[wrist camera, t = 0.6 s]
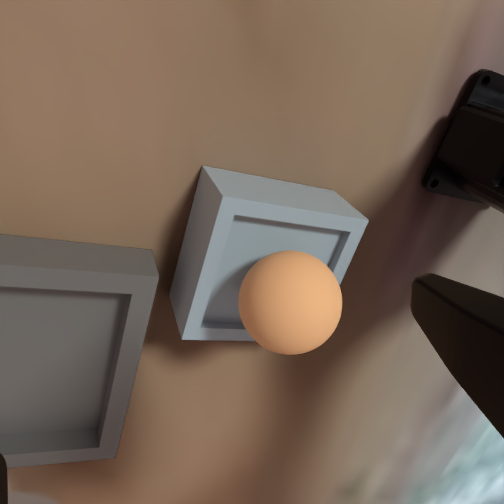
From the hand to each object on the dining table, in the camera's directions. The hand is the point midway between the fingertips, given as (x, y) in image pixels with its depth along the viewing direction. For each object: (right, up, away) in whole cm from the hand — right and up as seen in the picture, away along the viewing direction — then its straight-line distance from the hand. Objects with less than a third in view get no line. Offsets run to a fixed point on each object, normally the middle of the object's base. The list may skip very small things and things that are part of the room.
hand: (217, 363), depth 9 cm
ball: (+2, 0, +10) cm, 10 cm away
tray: (-11, -2, +12) cm, 17 cm away
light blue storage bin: (+1, +3, +14) cm, 14 cm away
